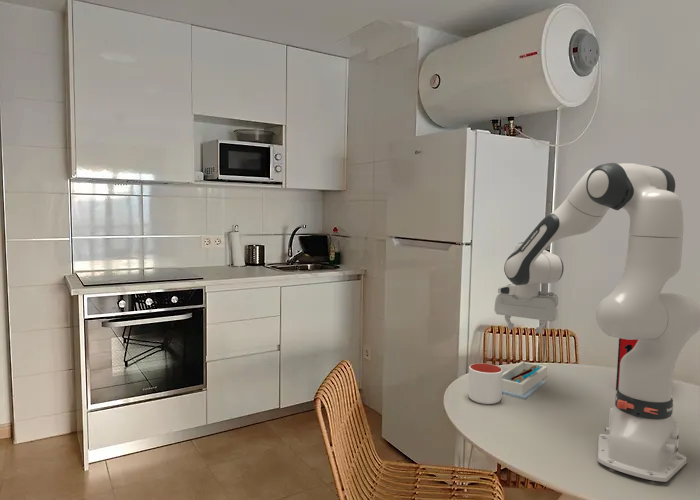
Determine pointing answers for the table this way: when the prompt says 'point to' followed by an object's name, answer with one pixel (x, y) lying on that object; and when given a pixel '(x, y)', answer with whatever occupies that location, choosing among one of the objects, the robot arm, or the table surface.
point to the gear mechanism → (525, 373)
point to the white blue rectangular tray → (524, 387)
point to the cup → (485, 383)
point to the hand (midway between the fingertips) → (524, 330)
